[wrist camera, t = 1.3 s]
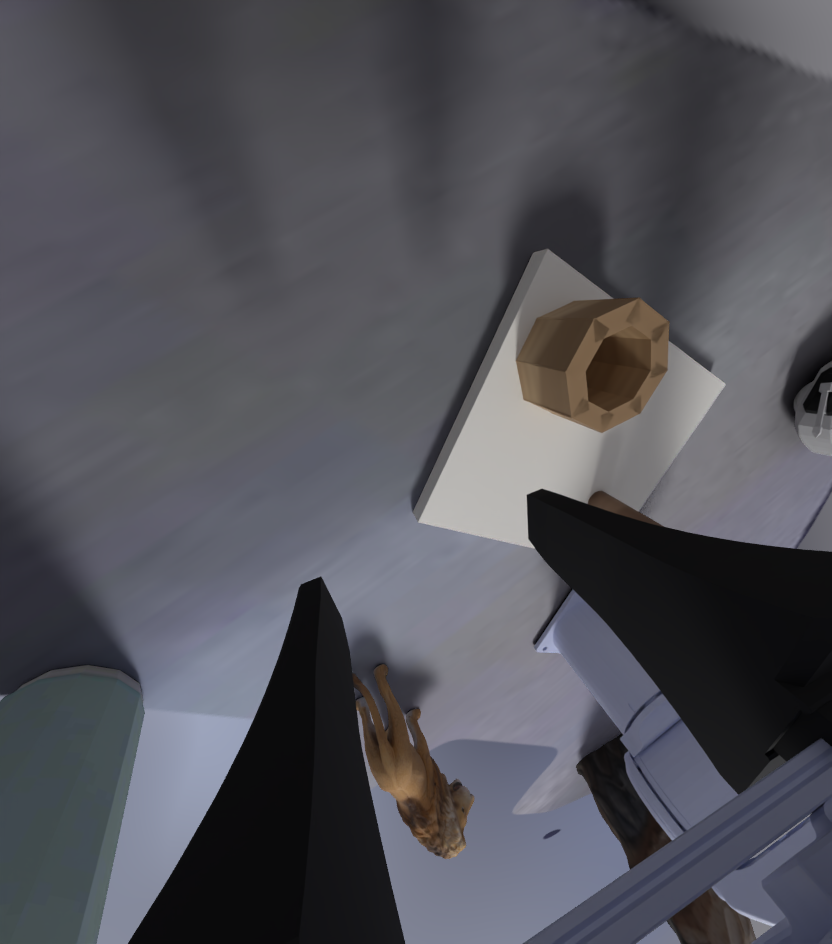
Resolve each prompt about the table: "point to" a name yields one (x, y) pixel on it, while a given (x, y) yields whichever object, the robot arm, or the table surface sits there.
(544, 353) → the oak bead
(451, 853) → the lion figurine
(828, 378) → the robot toy
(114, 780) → the disposable coffee cup
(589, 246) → the table surface
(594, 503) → the rod
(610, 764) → the owl
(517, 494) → the white flat rectangular panel
